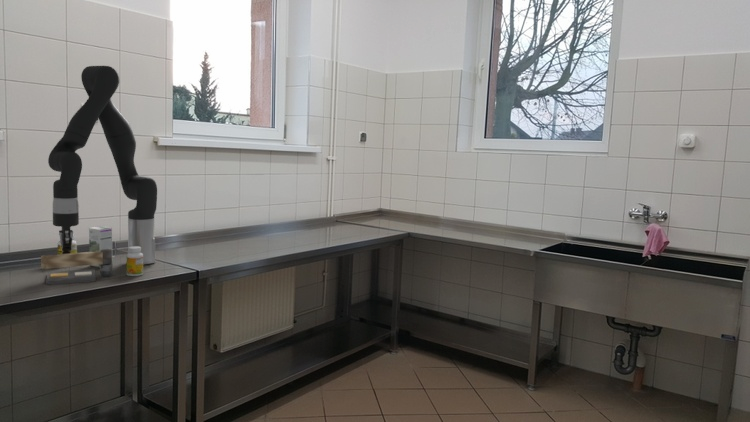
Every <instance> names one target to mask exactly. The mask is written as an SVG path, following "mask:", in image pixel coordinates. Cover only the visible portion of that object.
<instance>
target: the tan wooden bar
mask: <svg viewBox="0 0 750 422" xmlns="http://www.w3.org/2000/svg"><path fill="white" fill-rule="evenodd" d="M112 256H113V249H112V250H110V249H104V250H100V251H97V252H90V251H85V252H77V253H70V254H58V253H57V254H47V255H46V254H45V255H41V256H40V265H41V266H40V268H41V269H42V270H48V269H60V268H70V267H71V268H72V267H82V266H85V267H86V266H90V265H96V264H103V265H107V264H112Z"/></svg>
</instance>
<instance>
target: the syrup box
mask: <svg viewBox="0 0 750 422" xmlns="http://www.w3.org/2000/svg"><path fill="white" fill-rule="evenodd" d="M88 244H89V245H88V247H89V248H88V249H89V251H88V252H97V251H100V250H104V249H110V250H112V251H113V228H112V227H111V226H110V227H109V226H104V225H103V226H101V225H99V226H98V225H97V226H92V227H88ZM113 258H114V257H113V255H112V264H113V263H114V262H113ZM113 265H114V264H113ZM89 266H90V267H94V268H99V269H100V264H96V265H89Z"/></svg>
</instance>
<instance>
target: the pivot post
mask: <svg viewBox="0 0 750 422" xmlns="http://www.w3.org/2000/svg"><path fill="white" fill-rule="evenodd" d="M113 266H114V264H107V265H103V264H100V268H99V277H101V278H102V277H103V278H109V277H112V276H113V275H114V273H113V272H114V269H113Z"/></svg>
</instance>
